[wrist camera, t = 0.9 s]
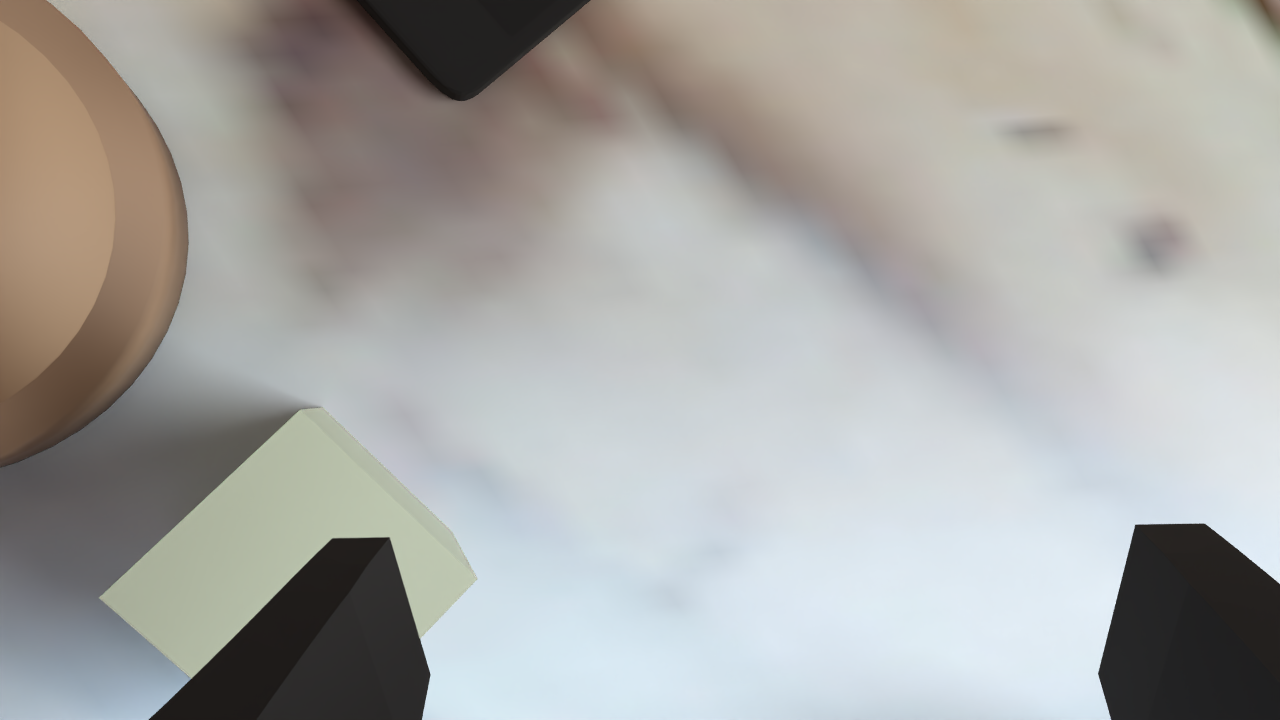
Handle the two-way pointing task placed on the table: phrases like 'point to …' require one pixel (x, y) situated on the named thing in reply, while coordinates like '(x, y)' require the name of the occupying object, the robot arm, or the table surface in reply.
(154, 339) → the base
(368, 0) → the cell phone
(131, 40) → the table surface
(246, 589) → the block
